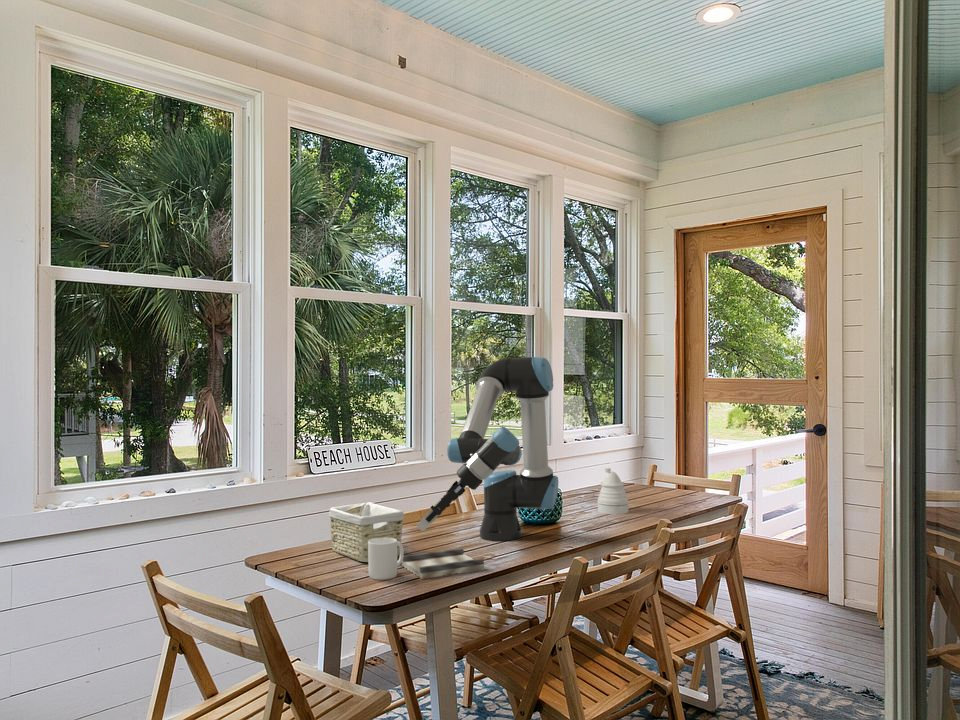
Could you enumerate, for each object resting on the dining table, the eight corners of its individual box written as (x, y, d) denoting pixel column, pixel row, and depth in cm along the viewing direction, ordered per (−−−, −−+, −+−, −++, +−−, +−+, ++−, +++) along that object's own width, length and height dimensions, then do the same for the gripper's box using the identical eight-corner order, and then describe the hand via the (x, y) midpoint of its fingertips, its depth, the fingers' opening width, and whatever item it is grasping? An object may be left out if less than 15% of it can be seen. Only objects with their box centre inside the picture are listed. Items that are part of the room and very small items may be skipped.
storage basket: (327, 550, 232) (326, 506, 232) (370, 543, 242) (369, 500, 242) (361, 565, 213) (360, 517, 213) (406, 556, 223) (406, 510, 223)
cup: (362, 576, 201) (362, 541, 201) (394, 567, 209) (393, 534, 210) (381, 581, 195) (381, 545, 195) (412, 572, 204) (412, 538, 204)
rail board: (461, 557, 221) (461, 548, 221) (484, 569, 206) (484, 559, 206) (402, 565, 212) (402, 555, 212) (421, 578, 197) (421, 568, 197)
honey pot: (594, 513, 291) (594, 470, 292) (601, 507, 303) (600, 466, 303) (625, 515, 286) (624, 471, 287) (631, 509, 298) (630, 467, 299)
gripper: (469, 457, 213) (422, 506, 214) (460, 467, 189) (406, 522, 189) (487, 475, 213) (439, 523, 214) (479, 487, 188) (425, 542, 189)
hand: (423, 523), depth 202 cm, fingers open, 13 cm apart
